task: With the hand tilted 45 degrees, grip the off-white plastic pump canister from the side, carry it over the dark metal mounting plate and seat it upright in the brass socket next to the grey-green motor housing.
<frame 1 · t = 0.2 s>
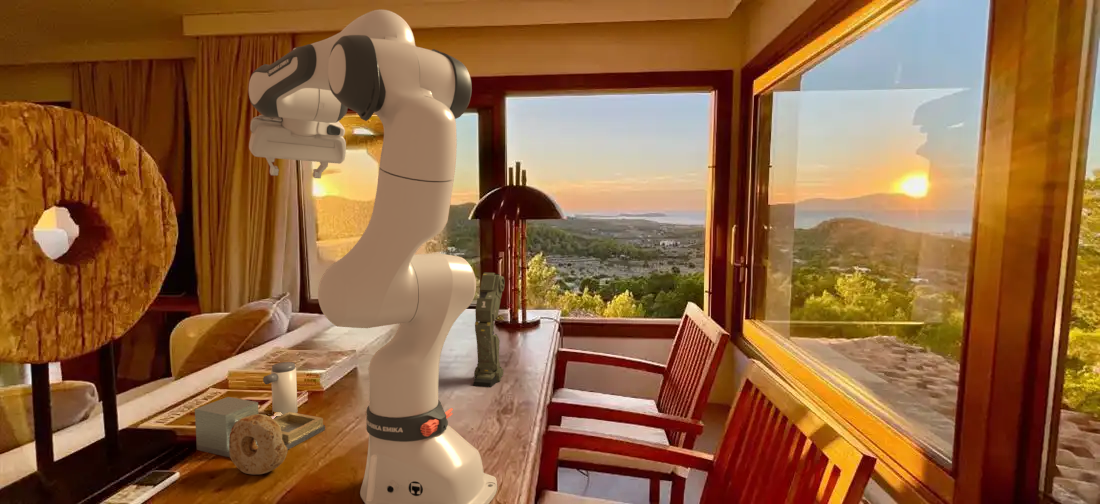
hand: (295, 175, 127), 53 cm above the table, tool tilted 25°, fingers open, 8 cm apart
mechanical leg: (489, 379, 146), on the table
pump: (285, 412, 121), on the table
stone disc: (257, 473, 94), on the table
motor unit: (263, 439, 107), on the table
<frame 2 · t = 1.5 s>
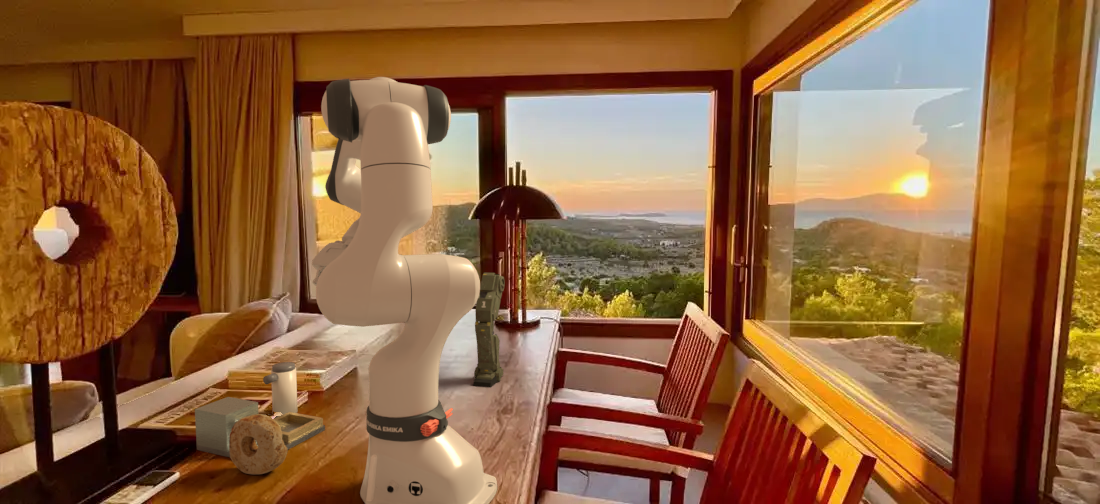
hand: (329, 286, 127), 27 cm above the table, tool tilted 45°, fingers open, 8 cm apart
nothing on the table moved.
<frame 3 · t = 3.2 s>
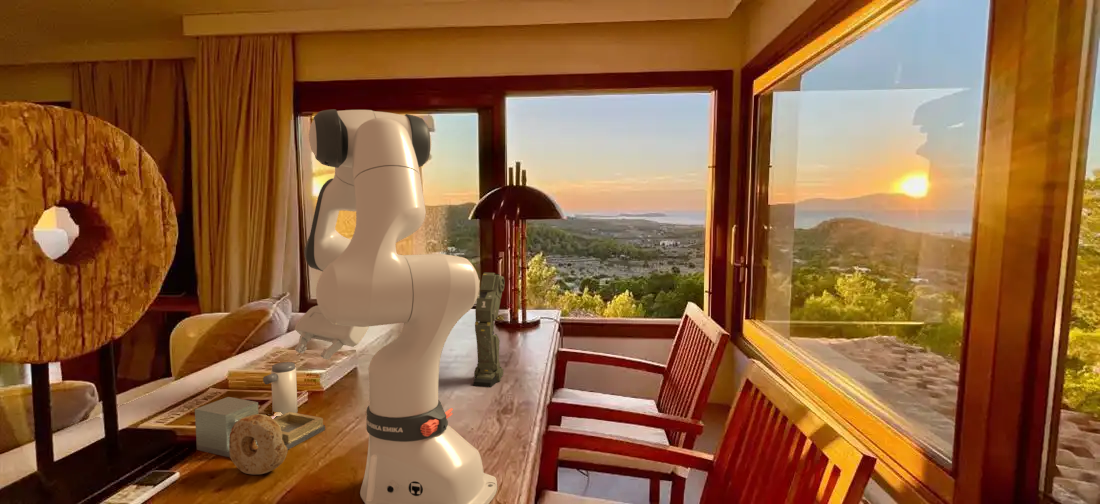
hand: (311, 354, 126), 12 cm above the table, tool tilted 45°, fingers open, 8 cm apart
nothing on the table moved.
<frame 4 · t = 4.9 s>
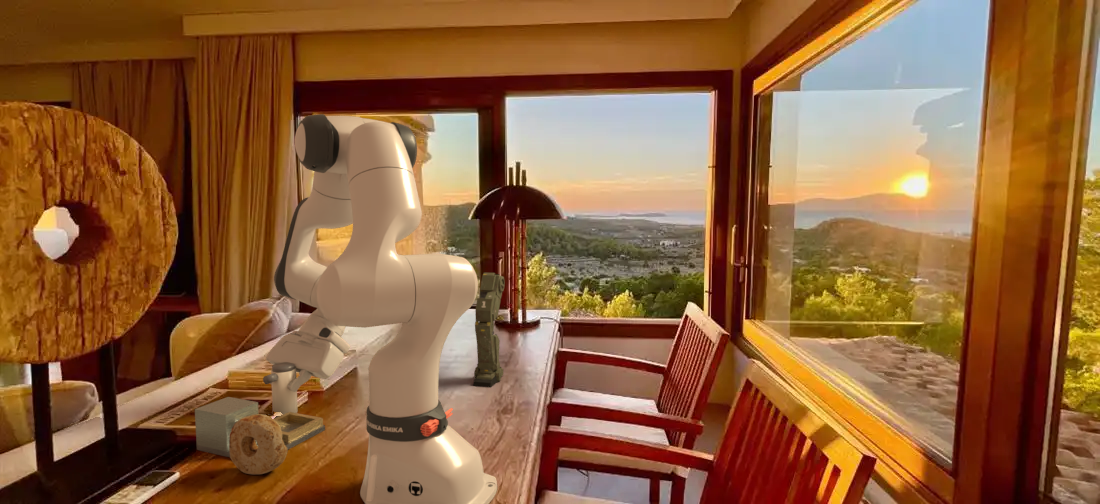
hand: (281, 387, 120), 6 cm above the table, tool tilted 45°, fingers closed on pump, 5 cm apart
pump: (285, 412, 121), on the table, touching gripper
everything else where it was.
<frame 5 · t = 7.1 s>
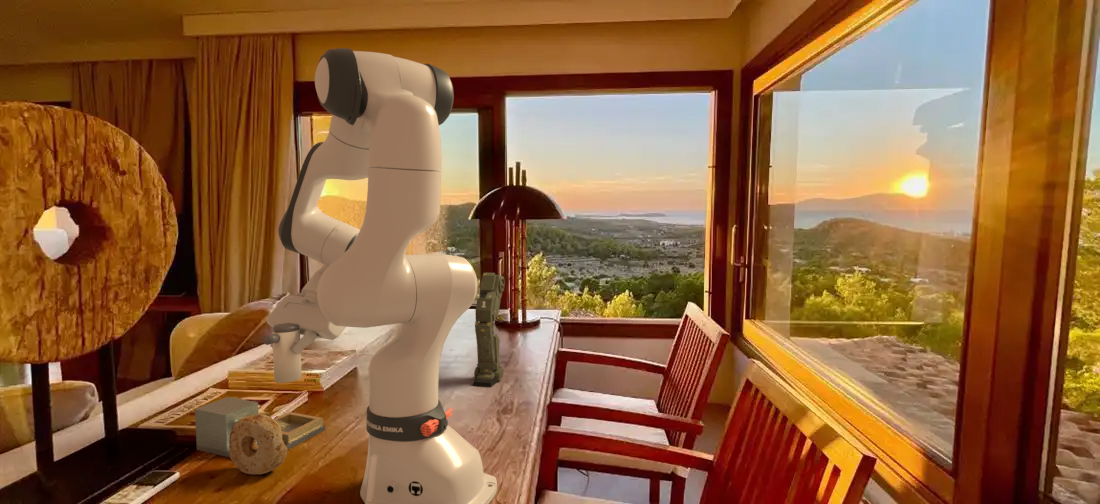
hand: (284, 350, 108), 18 cm above the table, tool tilted 45°, fingers closed on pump, 5 cm apart
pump: (288, 378, 109), point 12 cm above the table, touching gripper
everything else where it was.
when the fingers open (9 cm above the table, at t = 9.4 s): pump drops 2 cm, resting on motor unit.
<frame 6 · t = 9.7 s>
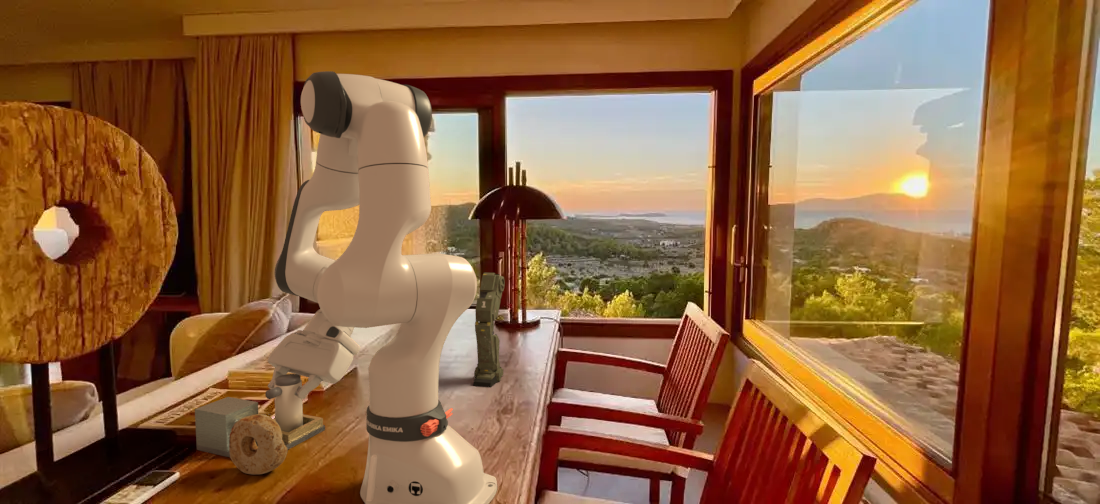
hand: (285, 393, 108), 9 cm above the table, tool tilted 45°, fingers open, 7 cm apart
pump: (289, 430, 109), point 1 cm above the table, touching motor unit
everything else where it was.
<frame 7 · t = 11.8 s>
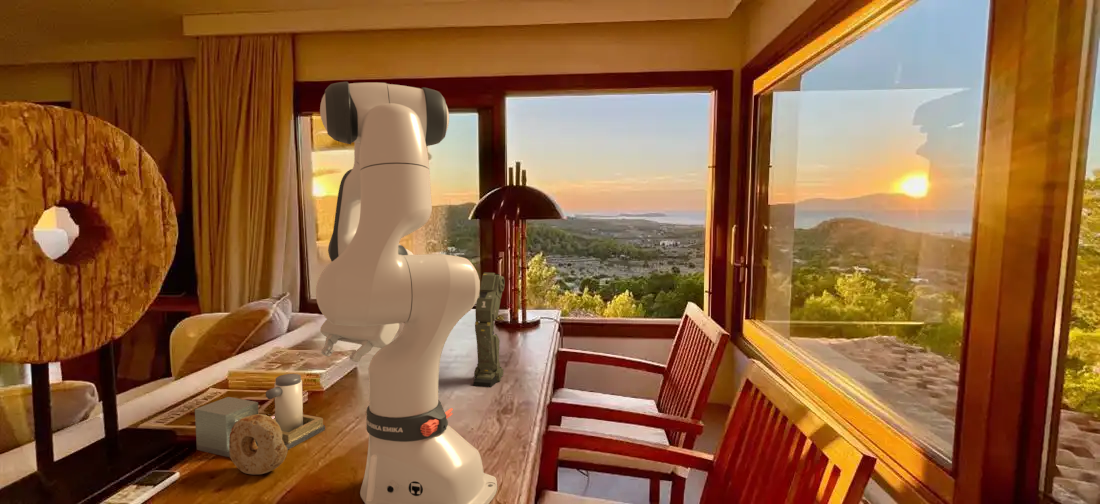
hand: (338, 357, 119), 13 cm above the table, tool tilted 45°, fingers open, 8 cm apart
nothing on the table moved.
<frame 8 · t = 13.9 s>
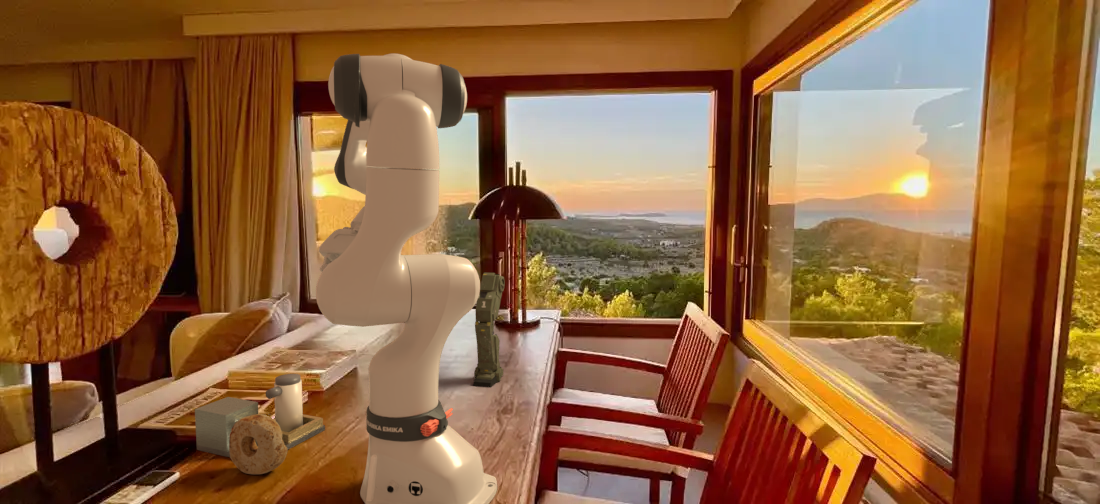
hand: (337, 273, 121), 31 cm above the table, tool tilted 45°, fingers open, 8 cm apart
nothing on the table moved.
at the end: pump inside the target area (0.1 cm from its centre), point 1.0 cm above the table; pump tilted 1°; the gripper is holding nothing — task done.
